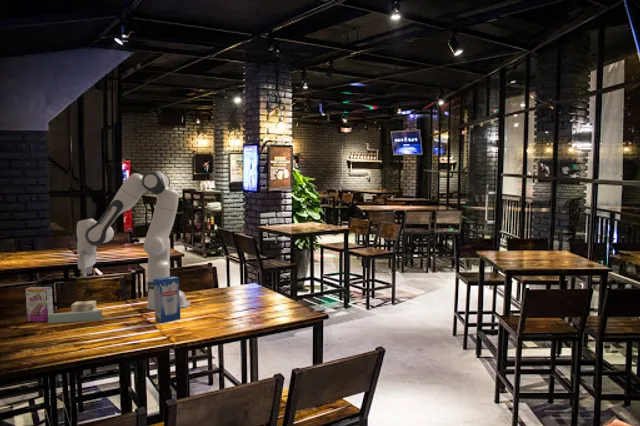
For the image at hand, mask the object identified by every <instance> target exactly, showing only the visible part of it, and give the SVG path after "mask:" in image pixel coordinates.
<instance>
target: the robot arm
mask: <svg viewBox="0 0 640 426" xmlns="http://www.w3.org/2000/svg"><path fill="white" fill-rule="evenodd" d="M170 186H171V179H170V178H169V176H168V175H167V174H166V173H164V172H161V171H157V170H151V171H148V172H146V173H144V174H140V173H138V172H137V173H132V174H131V175H129V176H128V177H127V179H126V180H125V181H124V182H123V183H122V185H121V186H120V188H119V189H118V190H117V192H116V194H115V196H114V198H113V199H112V201H111V202H110V204H109V205H108V207H107V208H106V210H104V212H103V214H102V215H101V216H100V217H99V218H98V220H97V221H96V220H95V219H94V218H89V217H88V218H85V219H80V220H79V221H78V222H77V225H76V238H77V242H76V249H77V252H76V253H77V254H78V256H77V268H78V270H80V271H81V273H82V277H83V278H86V277H87V276H88V275H91V274H92V273H93V267H94V265H95V264H96V263H97V251H98V247H97V246H100V245H102V244H105V243H108V242H110V241H112V240H113V238H114V236H115V231H114V228H113V227H112V226H111V225H112V224H113V223H114V222H115V220H116V219H117V218H118V217H119V216H121V214H123V213H124V212H127V211H128V210H129V211H130V210H131V209H132V208H133V207H134V206H135V205H136V204H137V203H138V202H139V200H140V198H141V197H142V196H143V194H144V193H146V192H147V191H148V192H150V193H151V194H153V195H154V196H156V202H155V206H154V210H153V214H152V219H151V221H150V224H149V227H148V229H147V232H146V235H145V240H144V241H143V251H144V252H145V253H146V254H147V255H148V260H147V267H146V268H147V283H146V285H147V293H148V297H147V305H146V309H147V310H152V311H155V302H154V283H153V279H158V278H164V277H170V275H171V274H170V273H171V272H170V260H171V259H170V258H171V256H170V255H171V239H170V238H169V237H170V235H171V232H172V229H173V227H174V224H175V219H176V215H177V210H178V206H179V198H180V197H179V196H180V195H179V191H177V190H176V189H175V188H173V187H170ZM179 296H180V309H185V308H188V307H190V306H191V301H190V300H187V299H186V295H185V292H184V291H182V290H180V289H179Z"/></svg>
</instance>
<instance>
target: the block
mask: <svg viewBox="0 0 640 426" xmlns="http://www.w3.org/2000/svg"><path fill="white" fill-rule="evenodd" d="M70 307H71V312H85V311H98V310H97V300H85V301H75V302H74V303H72V304H71V305H70Z"/></svg>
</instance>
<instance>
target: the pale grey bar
mask: <svg viewBox="0 0 640 426" xmlns="http://www.w3.org/2000/svg"><path fill="white" fill-rule="evenodd" d="M102 319H103V310H97V311H85V312H72V311H70V312H59V313H58V312H57V313H53V314H49V315H48V322H47V323H48V324H62V322H63V323H75V322H77V323H78V322H91V321H102Z"/></svg>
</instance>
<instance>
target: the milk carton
mask: <svg viewBox="0 0 640 426" xmlns="http://www.w3.org/2000/svg"><path fill="white" fill-rule="evenodd" d="M179 281H180V280H179V277H178V276H173V275H171V276H170V277H164V278H158V279H153V283H154V302H155V310H154V319H155V322H158V323H161V324H163V323H169V322H172V321H177V320H181V319H182V318H181V316H182V315H181V308H180V296H179V290H180V282H179Z"/></svg>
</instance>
